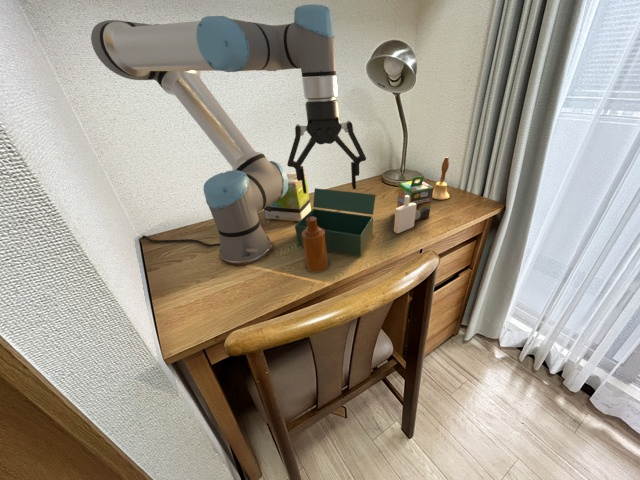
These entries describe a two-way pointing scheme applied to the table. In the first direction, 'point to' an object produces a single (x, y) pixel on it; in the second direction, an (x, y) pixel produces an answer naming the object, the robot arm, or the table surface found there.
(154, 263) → the table surface
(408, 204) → the perfume bottle
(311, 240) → the amber bottle
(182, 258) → the table surface
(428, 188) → the chalk box
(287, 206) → the tea box
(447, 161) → the hand bell
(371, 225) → the carton
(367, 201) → the flap
